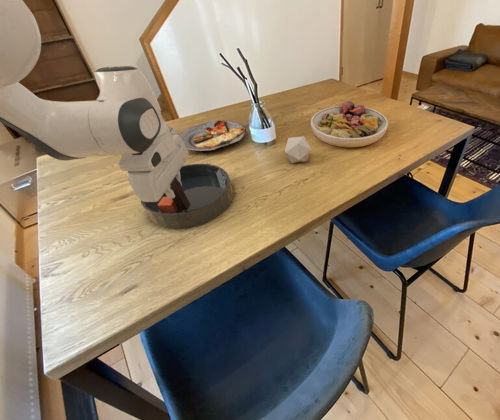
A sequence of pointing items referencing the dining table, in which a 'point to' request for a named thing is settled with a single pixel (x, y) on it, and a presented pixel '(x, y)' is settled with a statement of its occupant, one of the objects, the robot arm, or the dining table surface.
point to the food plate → (213, 135)
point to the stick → (179, 196)
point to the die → (297, 149)
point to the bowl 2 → (349, 125)
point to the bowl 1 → (196, 197)
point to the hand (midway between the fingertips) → (175, 192)
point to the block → (167, 205)
